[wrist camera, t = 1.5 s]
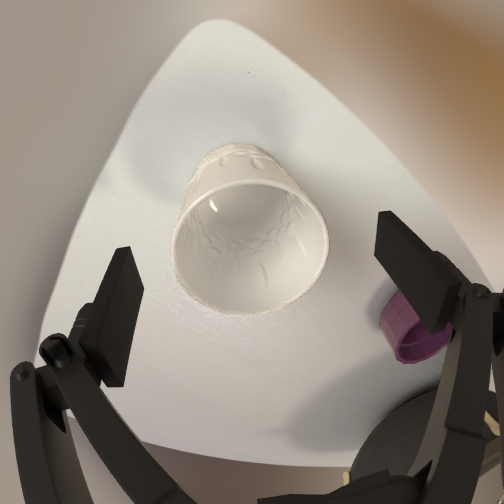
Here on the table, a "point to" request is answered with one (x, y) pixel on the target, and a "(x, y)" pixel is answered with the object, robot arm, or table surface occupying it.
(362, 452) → the bowl
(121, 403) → the table surface
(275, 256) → the white cup
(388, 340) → the plum dish
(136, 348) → the table surface
